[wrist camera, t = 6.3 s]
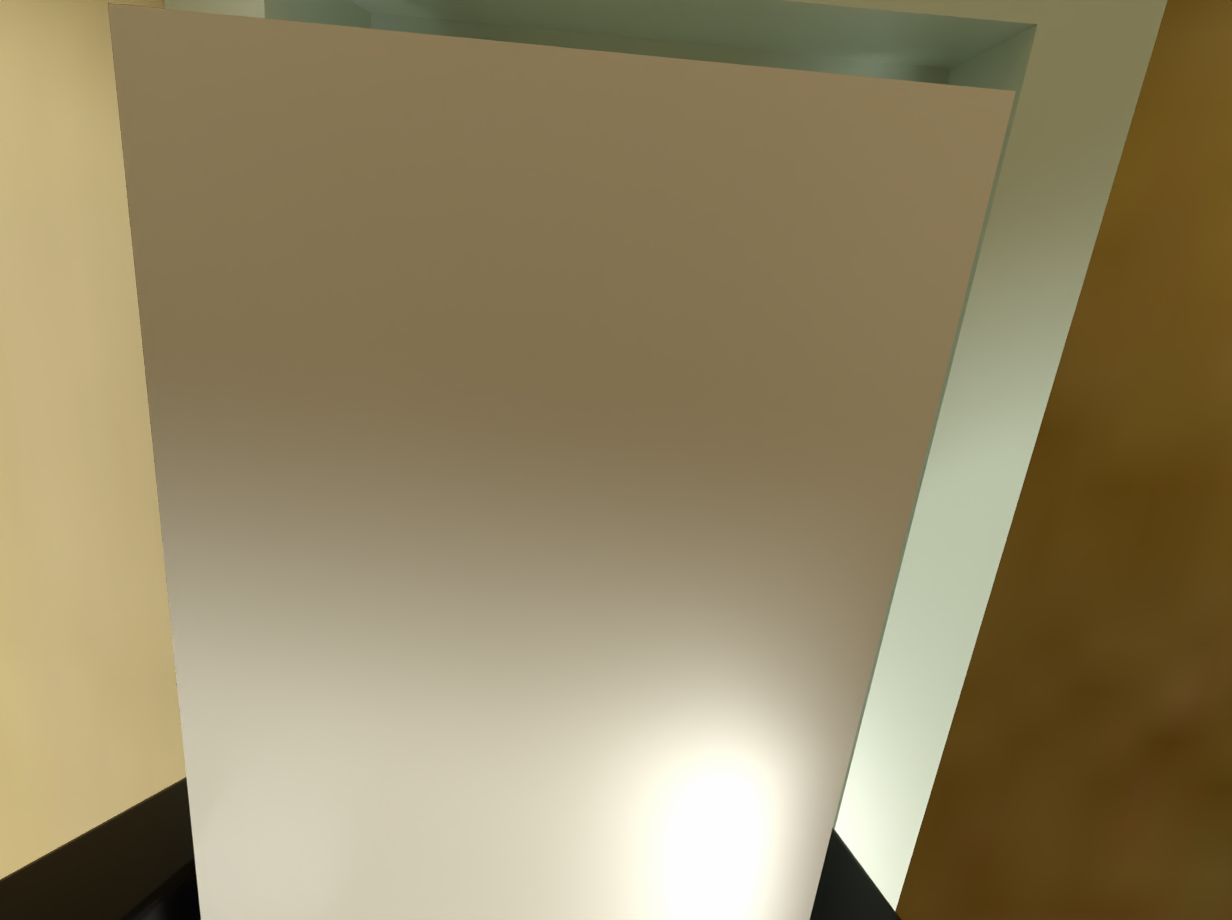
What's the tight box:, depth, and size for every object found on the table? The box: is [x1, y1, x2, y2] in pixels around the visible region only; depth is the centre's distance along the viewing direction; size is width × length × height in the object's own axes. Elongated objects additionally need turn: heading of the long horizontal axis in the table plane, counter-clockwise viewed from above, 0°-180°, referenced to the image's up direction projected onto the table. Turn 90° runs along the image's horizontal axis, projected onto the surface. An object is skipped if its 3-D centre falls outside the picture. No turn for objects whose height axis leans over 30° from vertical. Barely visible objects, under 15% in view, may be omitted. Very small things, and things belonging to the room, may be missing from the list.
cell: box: [108, 3, 1016, 920], centre depth 7 cm, size 4×12×4 cm, turn 174°
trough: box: [164, 0, 1167, 911], centre depth 11 cm, size 9×17×4 cm, turn 174°
